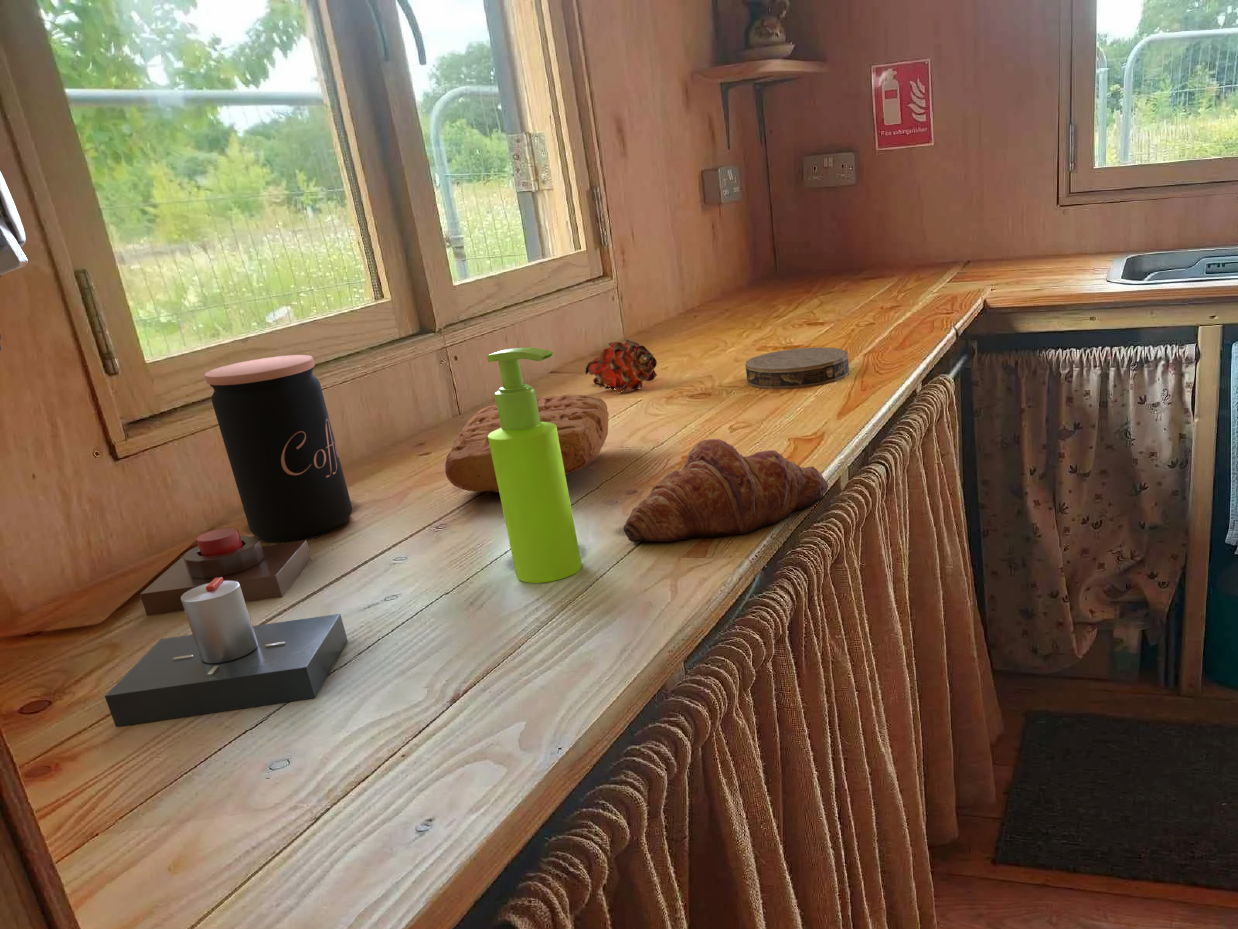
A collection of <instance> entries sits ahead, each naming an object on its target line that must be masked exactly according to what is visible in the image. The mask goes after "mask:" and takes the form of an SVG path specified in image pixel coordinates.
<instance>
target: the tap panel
mask: <svg viewBox="0 0 1238 929" xmlns="http://www.w3.org/2000/svg"><path fill="white" fill-rule="evenodd" d="M252 626H253V630H254V633H255V636H256V639H257V643H258V645H257V647H256V649H255V650H253V651H252V652H250V653H249V654H247V655H245V656H242V657H240V658H237V659H234V660H231V661H227V662H221V663H205V662H203V661H202V660H201V659H200V656H199V653H198V650H197V647H196V644H195V641H194V638H193V635H192V634H186V635H185V634H184V635H179V636H172V637H164V638H160V639H159V640H158V641H157V642H156V643H155V644H154V645H153V646H152V647H151V648H150V649H149V650H148V651H147V652H146V653H145V654H144V655H143V657H141V658H140V659H139V660H138V661H137V662H136V663H135V664H134V666H133V667H132V668H130V670H128V672H126V674H124V676H123V677H121V678H120V680H119V681H118V682H117V683H116V684H114V686H113V687H112V688H110V690H109V691H108V692H107V693H106V694H105V695H104V699H105V701H106V704H107V707H108V709H109V713H110V715H111V718H112V720H113V723H114V725H115V727H116V728H117V727H124V726H130V725H138V724H144V723H151V722H158V721H165V720H171V719H179V718H186V717H194V716H200V715H206V714H213V713H221V712H228V711H233V710H240V709H241V710H242V709H247V708H254V707H263V706H268V705H275V704H281V703H282V704H283V703H289V702H295V701H303V700H309V699H315V698H316V697H317V695H318V693H319V691H320V690H321V688H322V687H323V685H324V683H325V682H326V680H327V679H328V676H329V675H330V673H331V671H332V670H333V668H334V667H335V665H336V663H337V661H338V659H339V658H340V656H341V654H342V653H343V651H344V649H345V647H346V646H347V644H348V642H349V640H348V636H347V632H346V629H345V625H344V621H343V618H342V614H341V613H335V614H329V615H322V616H314V617H307V618H306V617H305V618H301V619H300V618H299V619H295V620H294V619H293V620H285V621H279V622H271V623H264V624H257V625H252Z"/></svg>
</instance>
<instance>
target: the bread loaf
mask: <svg viewBox="0 0 1238 929" xmlns="http://www.w3.org/2000/svg"><path fill="white" fill-rule="evenodd" d="M536 399H537V405H538V410H539V415H540V421H541V422H550V423H554V424H555V425H556V427H557V432H558V438H559V443H560V449H561V454H562V460H563V465H564V471H565V475H568V474H570V473H573V472H576V471H578V470H580V469H584V468H586V467H587V466H589V465H590V464H591V462H592V461H594V460H595V459H596V458H597V457H598V455H599V454H600V451H601V450H602V448H603V446H604V444H605V442H606V440H607V437H608V434H609V415H610V414H609V410H608V405H607V403H606V402H605V401H604V400H603V399H602V398H600V397H597V396H595V395H591V394H573V393H572V394H564V395H551V396H545V397H544V396H543V397H542V396H540V397H539V396H538V397H536ZM499 428H501V424H500V419H499V414H498V409H497V404H496V403H495V404H493V405H489V406H485V407H484V408H481V409H479V410H478V411H477V412H476V413H475V414H474V415H473V416H472V417H470V418H469V420H468V421H467V423H466V424H465V425H464V426H463V427H462V429H461V431H460V432H459V433H458V434H457V436H456V438H455V439H454V441H453V444H452V445H451V446H452V447H451V449H450V451H449V453H448V454H447V455H446V459H445V463H444V467H445V468H444V469H445V471H444V472H445V476H446V478H447V480H448V481H449V482H450V483H451V484H452V485H453V486H454V487H456V488H459V489H460V490H465V491H468V492H493V493H499V489H498V484H497V479H496V474H495V469H494V464H493V459H492V455H491V450H490V445H489V440H488V435H489V434H490V433H491V432H493V431H495V430H497V429H499Z"/></svg>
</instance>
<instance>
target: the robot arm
mask: <svg viewBox="0 0 1238 929" xmlns="http://www.w3.org/2000/svg"><path fill="white" fill-rule="evenodd" d="M17 209H18V208H17V206H16V204H15V201H14V199H13V197H12V195H11V192H10V190H9V188H8V185H7V183H6V180H5V178H4V176H3V174H2V171H0V278H1V276H3V275H5V274H8V273H11V272H14V271H16V270H19V269H22V268H25V267H26V266H27V264H28V258H27V257H26V254H25V252H24V251H23V250H22V247H23V246H24V245H25V244H26V242H27V241H26V239H27V238H26V232H25V229H24V226H23V223H22V219H21V217H20V214H19V212H18V210H17ZM1 338H2V335H1V334H0V340H1ZM1 350H2V345H1V344H0V351H1Z"/></svg>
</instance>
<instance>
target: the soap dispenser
mask: <svg viewBox="0 0 1238 929" xmlns="http://www.w3.org/2000/svg"><path fill="white" fill-rule="evenodd" d="M553 355H554V351H553V350H552V351H551V350H548V349H544V348H539V347H527V346H526V347H514V348H508V349H503V350H498V351H495V352H493V353H490V354H487V355H486V358H487V361H488V363H492V362H493V363H494V362H497V363H498V366H499V372H500V377H501V383H502V386H501V387H499V389H498V390H497V391H495V392H494V398H495V404H497V409H498V414H499V419H500V424H501V428H499V429H497V430H495V431H493V432H491V433H490V434H489V435H488V440H489V445H490V450H491V455H492V459H493V464H494V469H495V474H496V479H497V484H498V489H499V492H498V493H499V497H500V503H501V507H502V511H503V517H504V522H505V528H506V532H507V537H508V541H509V542H508V543H509V546H510V551H511V556H512V561H513V567H514V571H515V575H516V578H517V580H519V581H521V582H522V583H523V582H524V583H529V584H542V583H550V582H555V581H560V580H563V579H565V578H569V577H571V576H573V575H574V574H576V573H578V572H579V571H580V570H581V568H582V559H581V554H580V548H579V543H578V537H577V532H576V526H575V521H574V520H575V519H574V515H573V509H572V504H571V498H570V493H569V488H568V482H567V476H566V474H565V471H564V465H563V460H562V454H561V449H560V443H559V438H558V432H557V427H556V425H555V424H554V423H550V422H541V421H540V415H539V410H538V405H537V399H536V398H537V394H536V389H535V387H534V386H532V385H529V384H528V383H525V382H523V381H524V380H523V375H522V370H521V364H520V360H528V361H529V360H530V361H535V362H542V361H544V360H547V359H549V358H551V357H552V356H553Z"/></svg>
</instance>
